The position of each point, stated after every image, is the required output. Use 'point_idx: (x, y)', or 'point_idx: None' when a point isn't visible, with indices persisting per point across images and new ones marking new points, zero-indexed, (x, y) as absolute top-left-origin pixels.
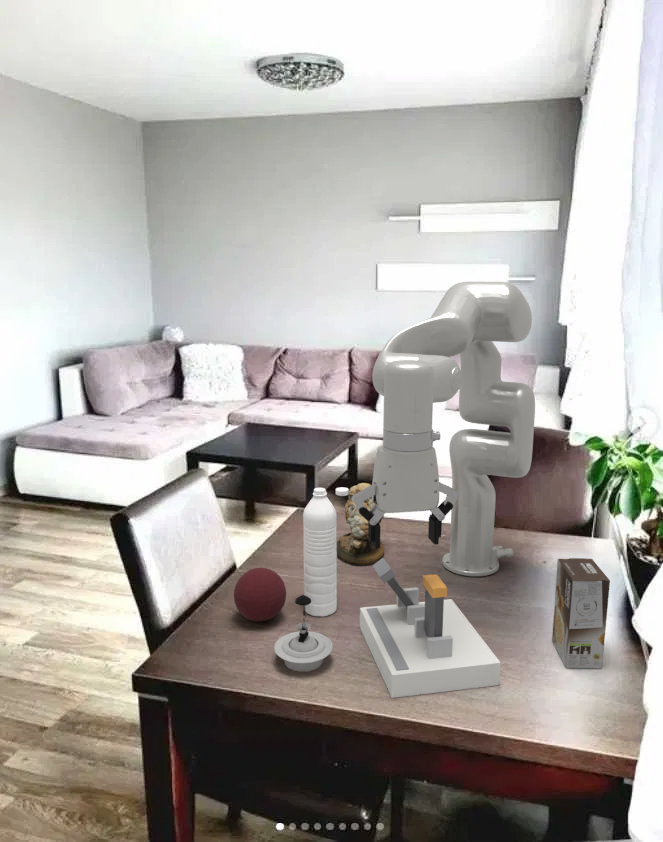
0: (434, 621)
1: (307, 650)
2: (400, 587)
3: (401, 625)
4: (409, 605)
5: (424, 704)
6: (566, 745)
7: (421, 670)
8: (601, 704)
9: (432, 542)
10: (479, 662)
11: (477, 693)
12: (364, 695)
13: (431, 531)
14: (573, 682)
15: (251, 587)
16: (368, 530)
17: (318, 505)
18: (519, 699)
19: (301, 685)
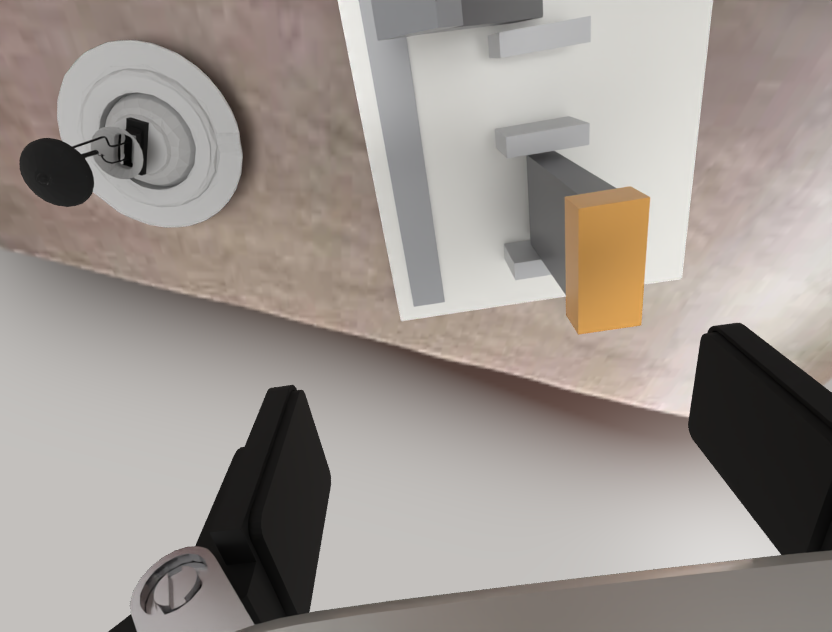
0: (550, 271)
1: (169, 182)
2: (482, 24)
3: (464, 61)
4: (509, 22)
5: (466, 314)
6: (678, 414)
7: (474, 305)
8: (822, 321)
9: (691, 407)
10: None
11: None
12: (342, 284)
13: (737, 432)
14: (825, 249)
15: None
16: (220, 498)
17: None
18: (669, 303)
19: (192, 245)
